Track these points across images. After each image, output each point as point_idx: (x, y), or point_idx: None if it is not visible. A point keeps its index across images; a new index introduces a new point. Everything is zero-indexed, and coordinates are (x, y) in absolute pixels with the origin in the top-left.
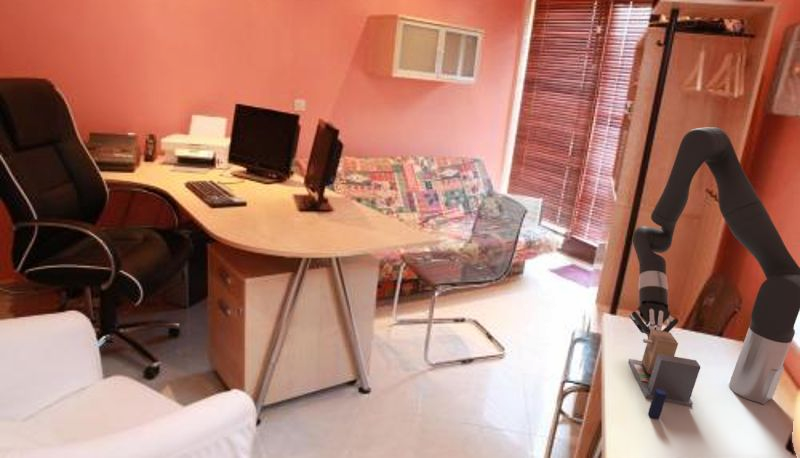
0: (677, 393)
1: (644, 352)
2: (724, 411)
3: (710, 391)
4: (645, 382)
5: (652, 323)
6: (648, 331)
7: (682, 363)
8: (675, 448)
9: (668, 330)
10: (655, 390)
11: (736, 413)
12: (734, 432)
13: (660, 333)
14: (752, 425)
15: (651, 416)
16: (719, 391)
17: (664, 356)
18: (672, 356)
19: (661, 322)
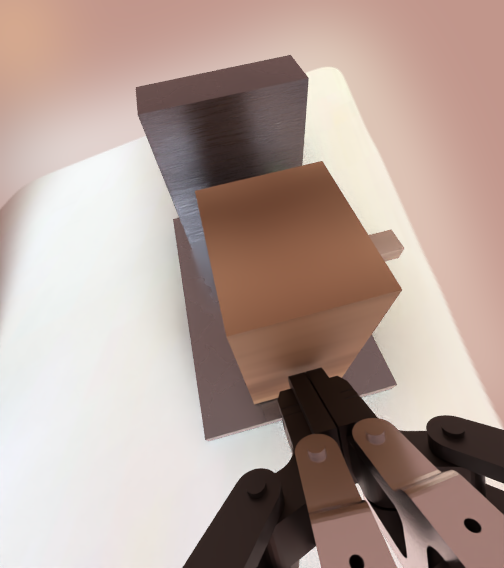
0: None
1: (349, 364)
2: (86, 255)
3: (80, 348)
4: None
5: (435, 483)
6: (408, 438)
7: (208, 73)
8: None
9: (227, 518)
10: None
11: (52, 265)
12: (101, 189)
13: (314, 260)
14: (35, 235)
15: None
16: (41, 370)
17: (278, 76)
18: (244, 89)
19: (336, 563)
